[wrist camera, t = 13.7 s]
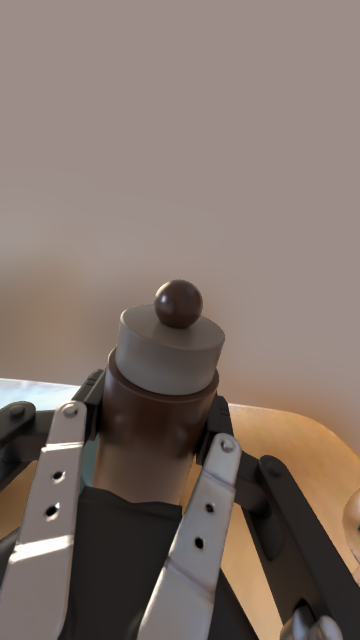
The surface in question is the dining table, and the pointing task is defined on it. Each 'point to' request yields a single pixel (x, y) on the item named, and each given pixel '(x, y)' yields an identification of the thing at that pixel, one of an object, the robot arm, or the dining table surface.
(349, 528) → the wineglass
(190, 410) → the pepper mill
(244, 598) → the dining table surface
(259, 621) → the dining table surface
